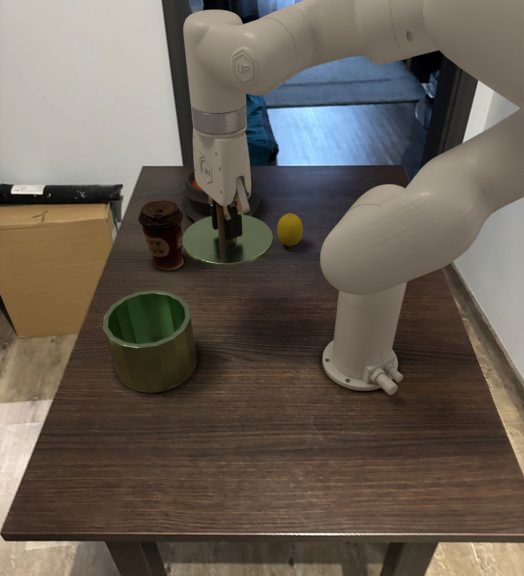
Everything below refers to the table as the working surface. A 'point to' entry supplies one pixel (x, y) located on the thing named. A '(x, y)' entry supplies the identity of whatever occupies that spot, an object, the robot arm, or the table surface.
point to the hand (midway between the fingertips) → (227, 231)
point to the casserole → (207, 199)
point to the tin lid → (234, 252)
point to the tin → (151, 340)
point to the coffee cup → (163, 233)
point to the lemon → (289, 229)
